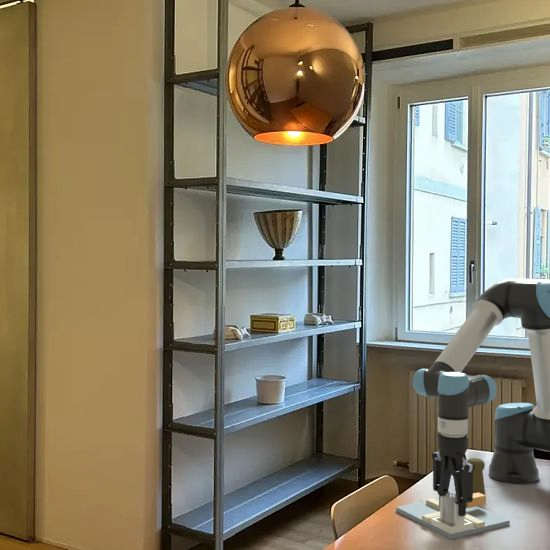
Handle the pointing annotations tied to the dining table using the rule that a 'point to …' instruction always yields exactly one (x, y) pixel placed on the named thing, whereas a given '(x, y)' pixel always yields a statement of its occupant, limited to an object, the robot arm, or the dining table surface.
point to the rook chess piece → (450, 509)
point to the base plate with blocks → (476, 515)
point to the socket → (453, 529)
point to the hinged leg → (477, 500)
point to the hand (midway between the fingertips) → (452, 523)
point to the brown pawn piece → (478, 475)
